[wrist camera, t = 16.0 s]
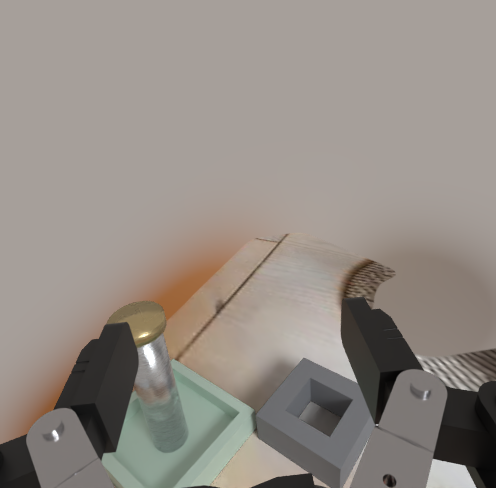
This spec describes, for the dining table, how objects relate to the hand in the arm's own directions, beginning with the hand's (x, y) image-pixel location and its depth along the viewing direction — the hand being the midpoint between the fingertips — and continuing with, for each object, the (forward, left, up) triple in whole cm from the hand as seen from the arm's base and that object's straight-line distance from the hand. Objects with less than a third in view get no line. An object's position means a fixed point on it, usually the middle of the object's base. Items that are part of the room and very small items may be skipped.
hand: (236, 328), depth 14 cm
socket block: (-17, -6, -30) cm, 35 cm away
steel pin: (-6, -19, -29) cm, 35 cm away
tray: (-6, -19, -30) cm, 36 cm away
